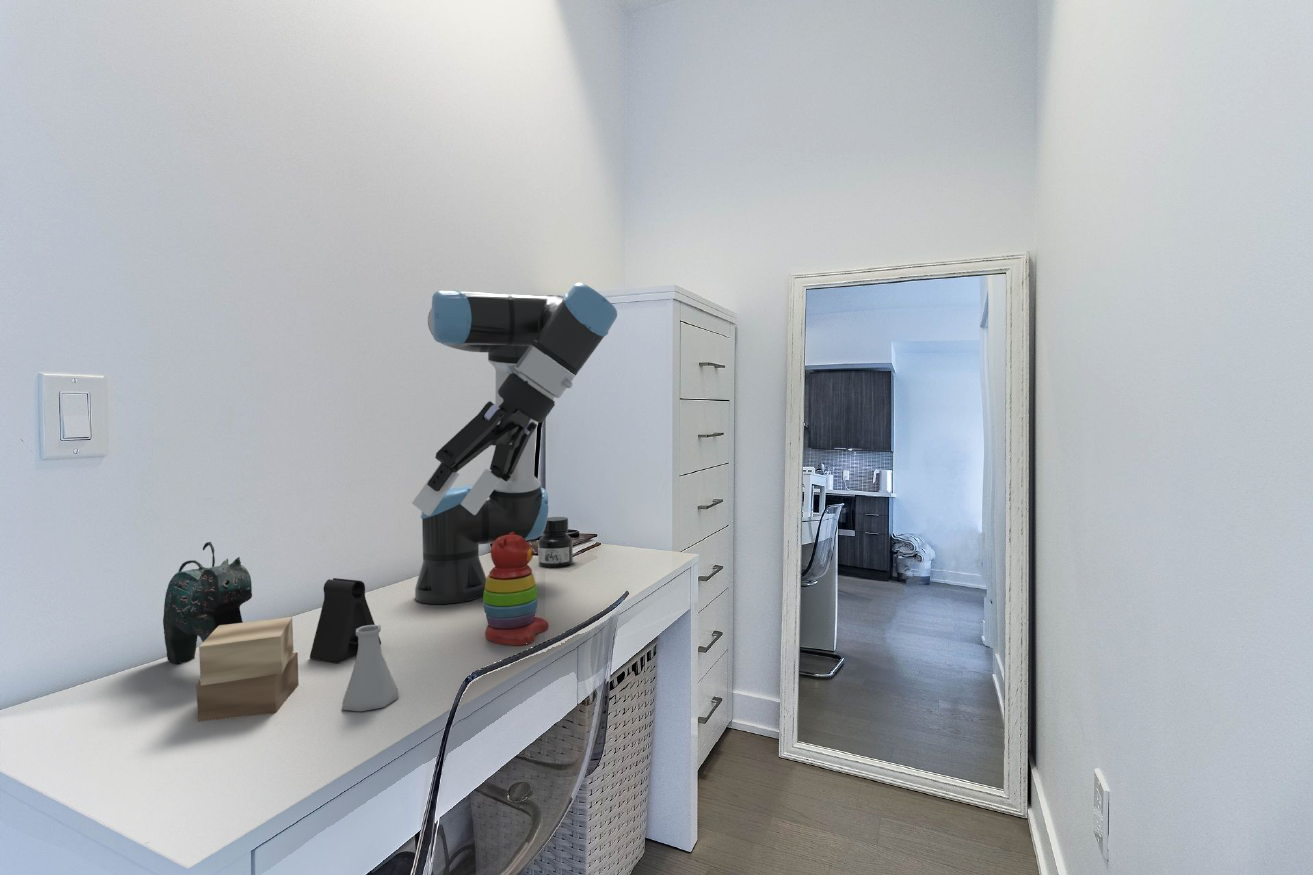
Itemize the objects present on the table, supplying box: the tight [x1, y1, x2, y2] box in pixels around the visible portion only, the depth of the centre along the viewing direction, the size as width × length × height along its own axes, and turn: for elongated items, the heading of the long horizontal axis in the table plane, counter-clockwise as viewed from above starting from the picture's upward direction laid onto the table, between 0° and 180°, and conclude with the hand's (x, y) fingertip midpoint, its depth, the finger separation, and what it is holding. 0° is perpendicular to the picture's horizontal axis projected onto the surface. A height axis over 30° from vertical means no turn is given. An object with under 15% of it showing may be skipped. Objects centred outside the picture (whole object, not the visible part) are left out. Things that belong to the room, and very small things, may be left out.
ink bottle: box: [537, 516, 574, 568], centre depth 165 cm, size 10×9×12 cm
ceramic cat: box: [162, 541, 253, 665], centre depth 97 cm, size 20×6×20 cm, turn 59°
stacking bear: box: [482, 532, 549, 646], centre depth 111 cm, size 11×10×18 cm
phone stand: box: [309, 577, 382, 664], centre depth 104 cm, size 9×6×12 cm, turn 158°
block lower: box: [195, 652, 300, 723], centre depth 86 cm, size 9×9×5 cm
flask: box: [341, 624, 399, 712], centre depth 85 cm, size 7×7×10 cm
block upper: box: [198, 616, 294, 686], centre depth 86 cm, size 9×9×5 cm
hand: (446, 509), depth 87 cm, fingers open, 13 cm apart
